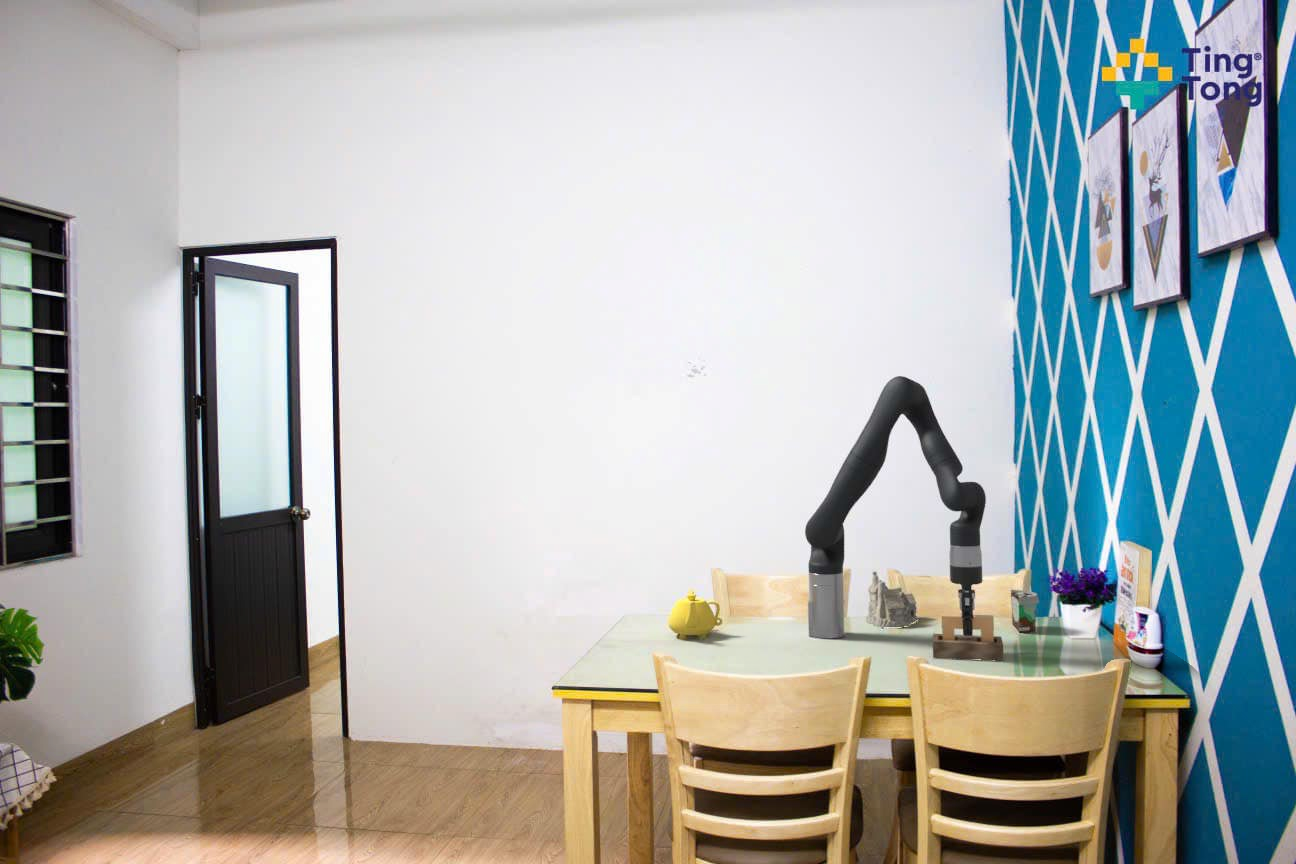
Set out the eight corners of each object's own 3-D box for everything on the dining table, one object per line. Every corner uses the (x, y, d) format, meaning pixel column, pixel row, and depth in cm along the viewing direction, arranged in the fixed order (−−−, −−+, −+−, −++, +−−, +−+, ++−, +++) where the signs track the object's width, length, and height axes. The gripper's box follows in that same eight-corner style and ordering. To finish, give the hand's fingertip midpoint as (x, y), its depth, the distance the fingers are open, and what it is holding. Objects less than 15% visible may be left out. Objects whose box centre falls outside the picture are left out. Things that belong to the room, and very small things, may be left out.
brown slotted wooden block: (933, 657, 224) (932, 641, 224) (933, 649, 233) (933, 633, 233) (1003, 661, 219) (1003, 644, 219) (1001, 652, 228) (1001, 636, 228)
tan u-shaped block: (993, 648, 225) (993, 615, 225) (994, 650, 223) (993, 617, 223) (942, 645, 229) (941, 613, 229) (942, 648, 226) (941, 616, 226)
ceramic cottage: (876, 629, 257) (877, 575, 258) (859, 619, 274) (861, 568, 274) (931, 630, 258) (932, 576, 259) (911, 621, 275) (912, 570, 275)
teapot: (724, 643, 245) (723, 600, 245) (668, 644, 245) (667, 601, 245) (720, 627, 265) (719, 587, 265) (668, 628, 265) (668, 588, 265)
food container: (1044, 635, 245) (1043, 597, 245) (1020, 634, 247) (1019, 597, 247) (1034, 625, 258) (1033, 589, 258) (1011, 625, 259) (1010, 589, 259)
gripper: (983, 567, 218) (985, 640, 218) (981, 559, 231) (983, 628, 231) (949, 567, 220) (951, 639, 220) (949, 559, 234) (951, 627, 234)
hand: (967, 633), depth 226 cm, fingers closed on tan u-shaped block, 3 cm apart
